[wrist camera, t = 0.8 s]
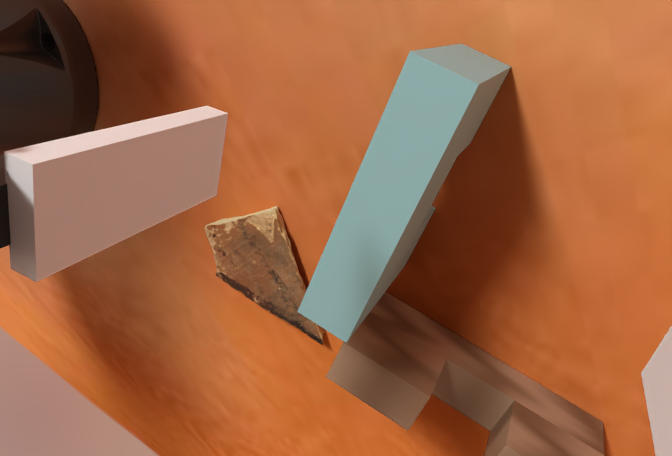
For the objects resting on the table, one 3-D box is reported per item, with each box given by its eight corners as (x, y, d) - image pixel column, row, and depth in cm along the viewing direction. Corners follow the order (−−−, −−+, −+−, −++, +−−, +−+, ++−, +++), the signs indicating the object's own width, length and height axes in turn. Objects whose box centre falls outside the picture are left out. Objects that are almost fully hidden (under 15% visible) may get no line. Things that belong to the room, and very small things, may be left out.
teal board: (404, 266, 35) (346, 342, 27) (366, 243, 36) (297, 311, 27) (511, 66, 29) (478, 84, 20) (462, 43, 29) (410, 51, 21)
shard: (331, 334, 40) (321, 347, 39) (253, 341, 44) (241, 353, 43) (286, 202, 38) (273, 209, 37) (207, 220, 42) (192, 228, 40)
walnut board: (367, 321, 38) (325, 377, 32) (383, 290, 37) (343, 342, 31) (576, 451, 35) (573, 540, 29) (603, 422, 33) (606, 509, 27)
